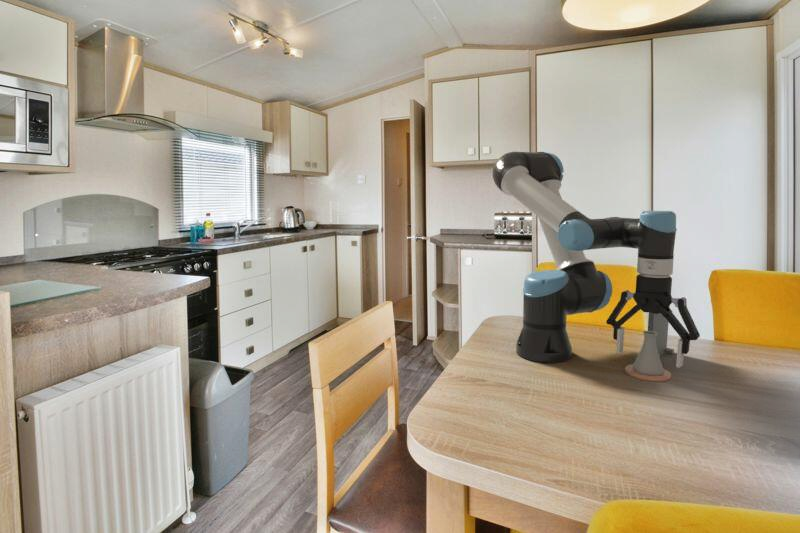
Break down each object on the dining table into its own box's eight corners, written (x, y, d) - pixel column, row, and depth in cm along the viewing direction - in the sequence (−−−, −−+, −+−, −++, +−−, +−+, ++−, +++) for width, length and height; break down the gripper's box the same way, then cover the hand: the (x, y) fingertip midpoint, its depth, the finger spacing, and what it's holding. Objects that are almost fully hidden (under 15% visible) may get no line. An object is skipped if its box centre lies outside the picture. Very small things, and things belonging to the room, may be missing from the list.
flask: (636, 375, 108) (639, 336, 107) (628, 364, 115) (630, 327, 114) (669, 377, 107) (672, 337, 105) (658, 366, 114) (661, 328, 112)
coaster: (619, 373, 111) (619, 371, 111) (633, 363, 118) (633, 361, 118) (663, 385, 104) (664, 382, 104) (676, 373, 111) (676, 370, 111)
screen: (637, 361, 119) (641, 310, 117) (654, 348, 129) (657, 301, 127) (658, 366, 116) (662, 314, 113) (673, 352, 125) (677, 304, 123)
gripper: (595, 271, 113) (591, 350, 117) (712, 283, 96) (703, 376, 99) (607, 267, 119) (603, 344, 122) (719, 278, 101) (711, 367, 104)
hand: (648, 358), depth 111 cm, fingers open, 13 cm apart
